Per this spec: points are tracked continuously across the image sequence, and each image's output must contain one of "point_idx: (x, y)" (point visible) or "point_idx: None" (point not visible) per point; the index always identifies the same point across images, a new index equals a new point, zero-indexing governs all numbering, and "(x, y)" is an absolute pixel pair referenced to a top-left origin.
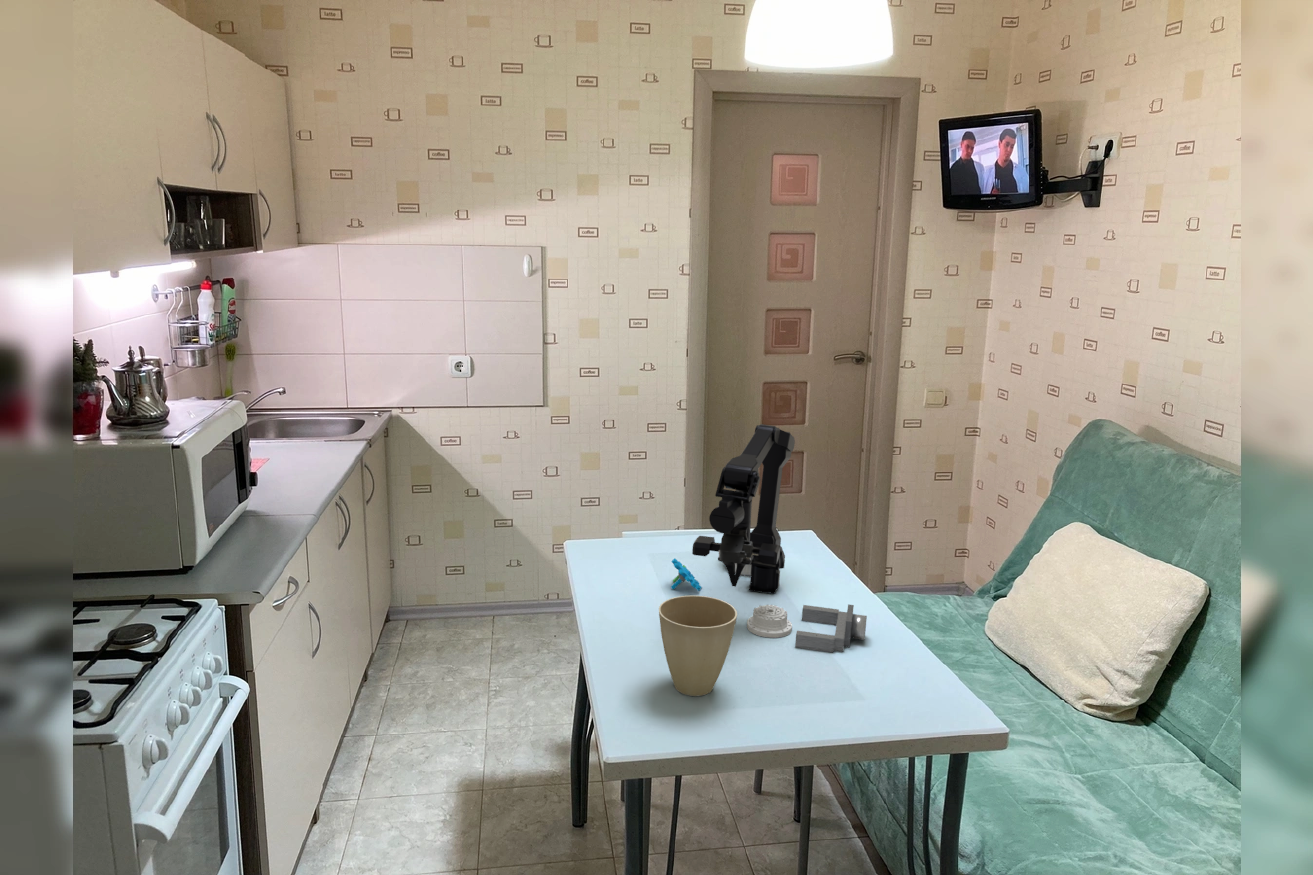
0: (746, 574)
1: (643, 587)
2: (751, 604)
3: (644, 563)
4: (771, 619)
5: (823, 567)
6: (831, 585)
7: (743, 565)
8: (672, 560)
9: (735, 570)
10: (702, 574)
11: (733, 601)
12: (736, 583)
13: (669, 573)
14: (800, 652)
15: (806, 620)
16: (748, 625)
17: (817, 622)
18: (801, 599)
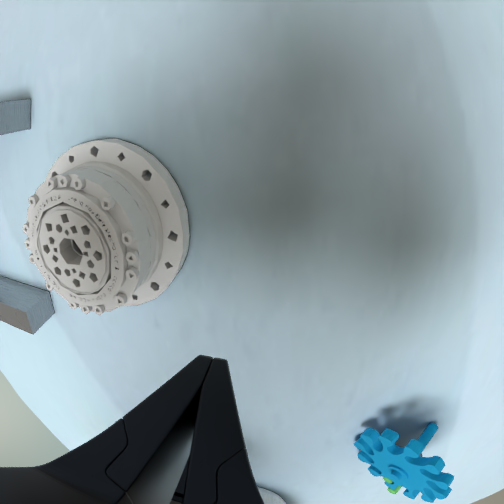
0: None
1: (493, 410)
2: None
3: None
4: (59, 181)
5: None
6: (73, 435)
7: (14, 475)
8: (448, 493)
9: (262, 494)
10: (339, 482)
11: (259, 396)
12: (185, 368)
13: None
14: (21, 73)
15: (38, 289)
16: (173, 196)
17: (19, 282)
18: (92, 398)
